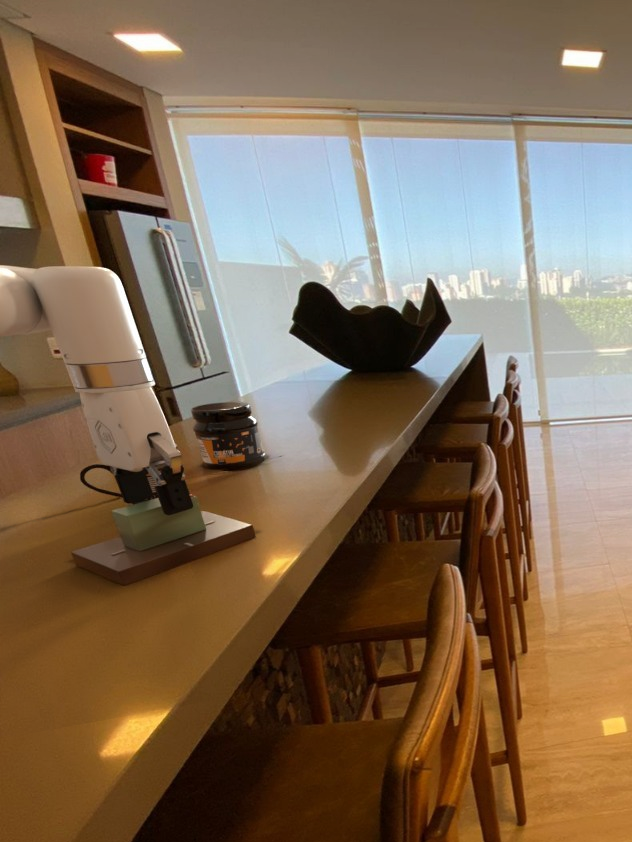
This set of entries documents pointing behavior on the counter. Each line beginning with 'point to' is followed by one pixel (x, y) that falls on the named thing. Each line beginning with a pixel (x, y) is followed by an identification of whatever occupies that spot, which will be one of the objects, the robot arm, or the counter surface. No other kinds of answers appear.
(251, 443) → the supplement container
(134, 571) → the base
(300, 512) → the counter surface
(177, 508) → the robot arm
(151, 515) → the green box
